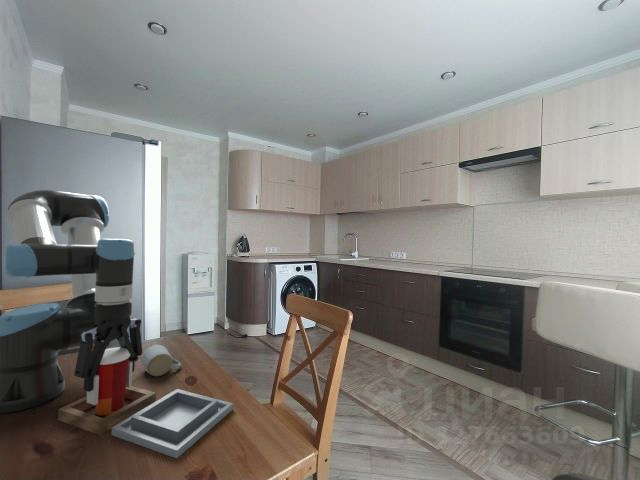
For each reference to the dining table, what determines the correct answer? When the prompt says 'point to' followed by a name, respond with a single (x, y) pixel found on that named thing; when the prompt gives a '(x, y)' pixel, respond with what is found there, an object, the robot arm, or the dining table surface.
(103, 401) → the paper cup
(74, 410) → the walnut collar
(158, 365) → the ceramic mug
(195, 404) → the grey tray
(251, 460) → the dining table surface
